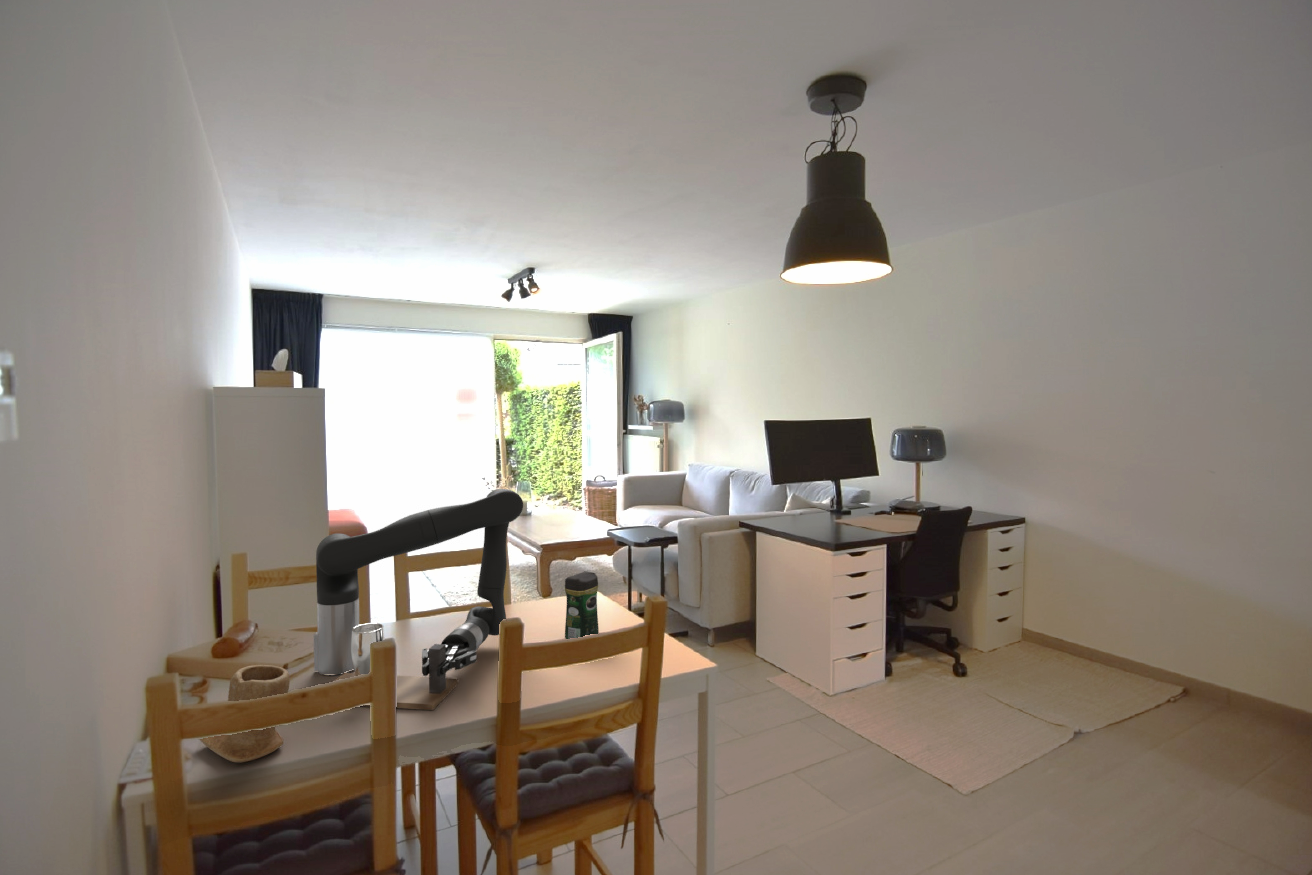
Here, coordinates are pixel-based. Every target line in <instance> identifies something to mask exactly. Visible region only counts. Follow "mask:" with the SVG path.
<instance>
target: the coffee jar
mask: <svg viewBox="0 0 1312 875" xmlns="http://www.w3.org/2000/svg"><path fill="white" fill-rule="evenodd" d="M564 579H565V580H564V592H565V594H566V595H565V596H566V606H565V607H566V610H565V624H564V626H565V627H564V639H565V640H566V639H570V638H578V637H583V636H585V635H590V634H598V633H599V618H598V600H597V599H598V589H599V579H598V576H597V574H596V573H595V572H591V571H586V570H585V571H583V572H580V573H577V574H574V575H571V576H568V577H566V578H564ZM599 634H600V633H599ZM599 634H598V635H599Z"/></svg>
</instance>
